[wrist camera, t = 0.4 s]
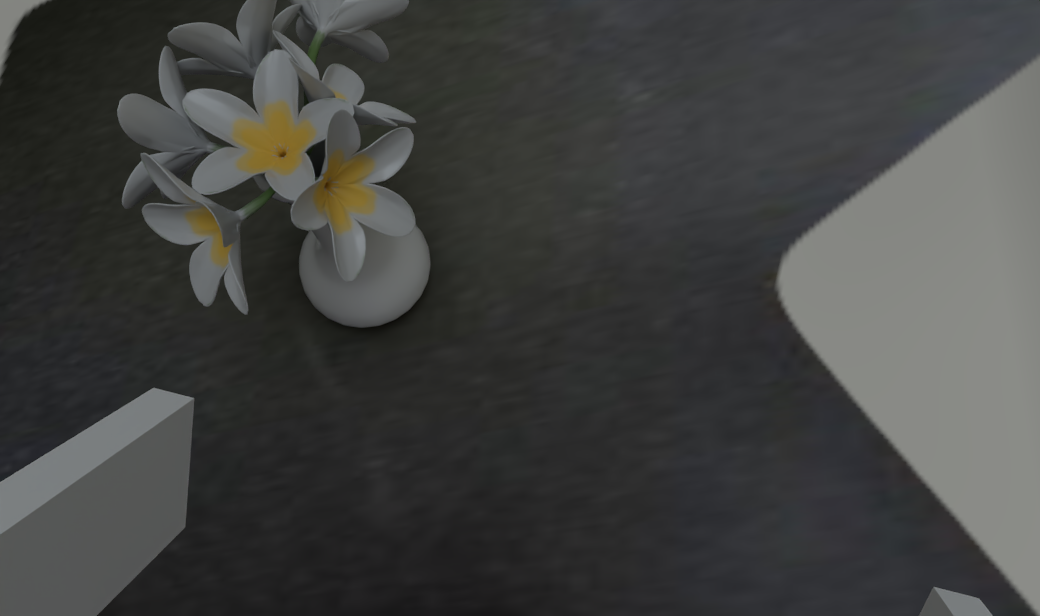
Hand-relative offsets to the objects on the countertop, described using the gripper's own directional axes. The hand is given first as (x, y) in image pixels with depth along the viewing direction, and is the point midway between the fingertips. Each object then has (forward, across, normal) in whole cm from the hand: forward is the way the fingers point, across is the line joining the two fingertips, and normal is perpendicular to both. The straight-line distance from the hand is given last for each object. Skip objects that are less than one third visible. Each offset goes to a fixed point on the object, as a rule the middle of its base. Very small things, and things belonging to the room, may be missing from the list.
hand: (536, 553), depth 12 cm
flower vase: (+38, +15, +8) cm, 42 cm away
